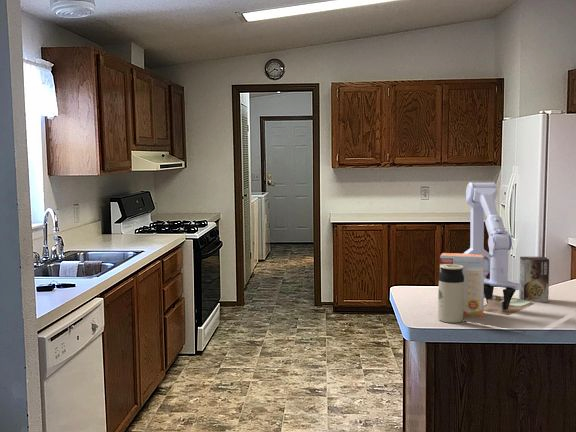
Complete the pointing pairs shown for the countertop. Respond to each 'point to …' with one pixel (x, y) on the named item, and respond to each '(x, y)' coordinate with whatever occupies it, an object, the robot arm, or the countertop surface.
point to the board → (511, 306)
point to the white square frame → (495, 304)
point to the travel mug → (451, 293)
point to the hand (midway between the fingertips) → (497, 307)
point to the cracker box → (469, 280)
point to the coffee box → (534, 279)
